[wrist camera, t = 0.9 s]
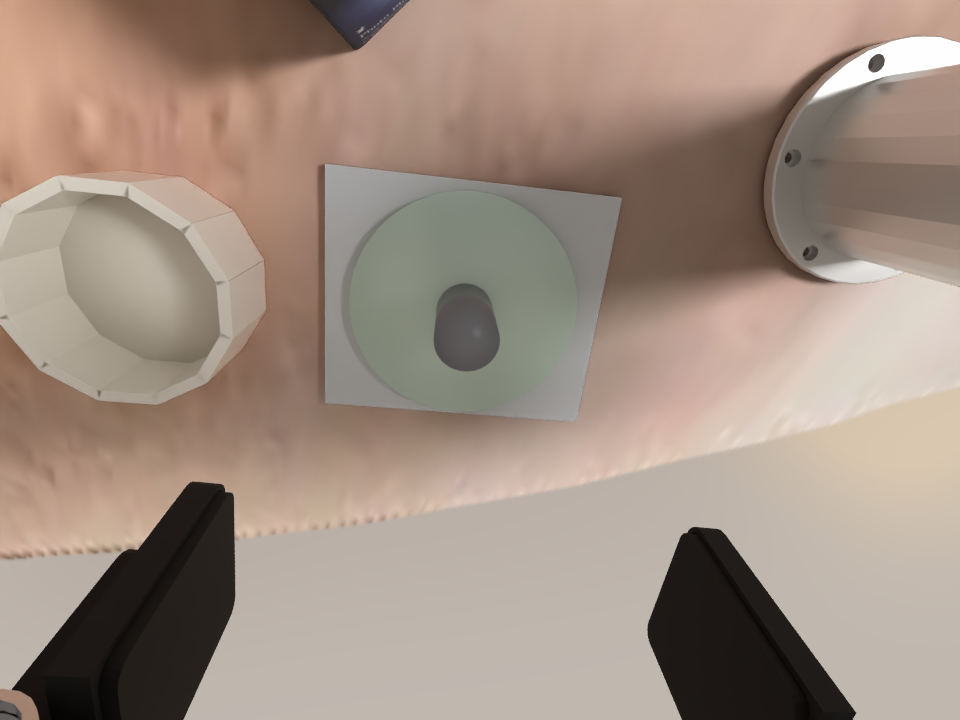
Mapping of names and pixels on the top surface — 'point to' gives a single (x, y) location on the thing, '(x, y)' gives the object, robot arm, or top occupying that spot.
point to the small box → (358, 17)
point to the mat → (381, 193)
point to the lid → (463, 301)
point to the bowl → (127, 283)
